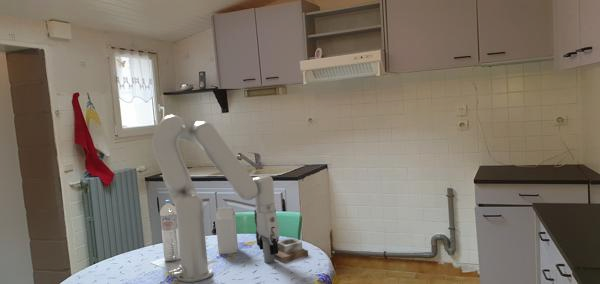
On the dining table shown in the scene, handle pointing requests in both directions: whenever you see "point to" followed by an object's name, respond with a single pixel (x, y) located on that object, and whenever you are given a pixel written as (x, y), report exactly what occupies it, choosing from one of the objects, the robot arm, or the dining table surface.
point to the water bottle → (170, 232)
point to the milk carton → (226, 230)
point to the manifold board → (290, 250)
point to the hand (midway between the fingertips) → (268, 251)
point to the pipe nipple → (267, 250)
